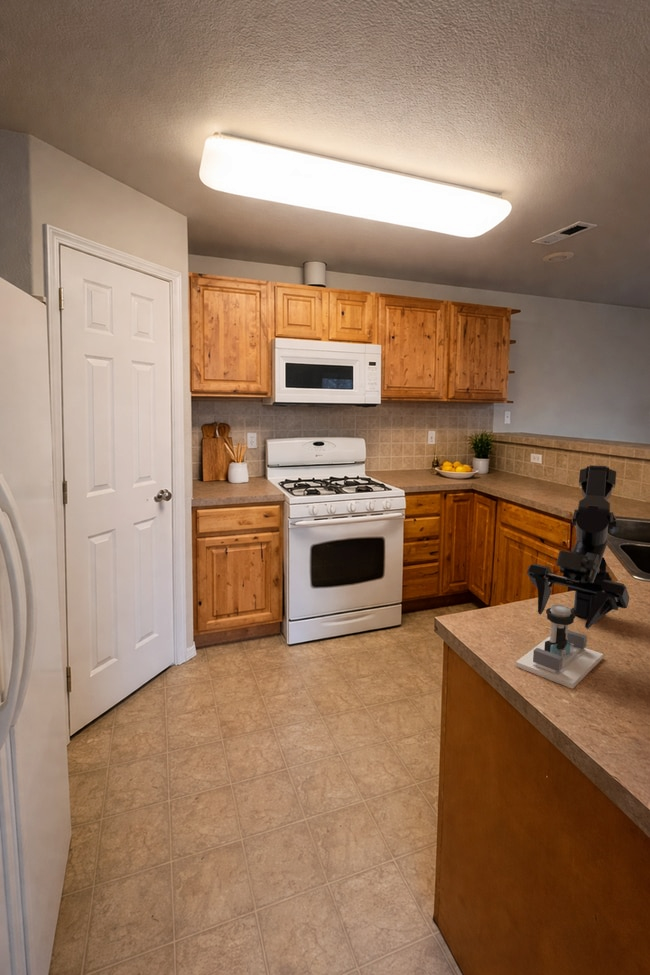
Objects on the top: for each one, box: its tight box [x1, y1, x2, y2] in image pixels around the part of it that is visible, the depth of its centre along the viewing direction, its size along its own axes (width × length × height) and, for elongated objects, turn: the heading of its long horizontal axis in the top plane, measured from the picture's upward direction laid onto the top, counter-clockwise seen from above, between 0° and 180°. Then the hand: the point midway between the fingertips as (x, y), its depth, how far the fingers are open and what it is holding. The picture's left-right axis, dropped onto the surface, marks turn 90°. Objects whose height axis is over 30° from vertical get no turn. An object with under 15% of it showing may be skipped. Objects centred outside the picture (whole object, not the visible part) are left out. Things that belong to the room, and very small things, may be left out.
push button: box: [544, 604, 576, 657], centre depth 98 cm, size 7×5×10 cm
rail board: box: [515, 629, 604, 690], centre depth 98 cm, size 16×11×4 cm
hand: (562, 620), depth 97 cm, fingers open, 9 cm apart
